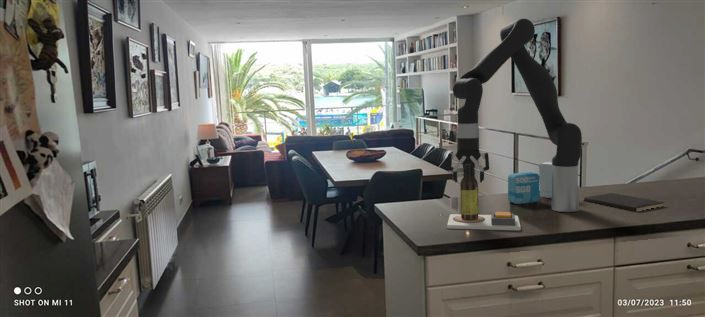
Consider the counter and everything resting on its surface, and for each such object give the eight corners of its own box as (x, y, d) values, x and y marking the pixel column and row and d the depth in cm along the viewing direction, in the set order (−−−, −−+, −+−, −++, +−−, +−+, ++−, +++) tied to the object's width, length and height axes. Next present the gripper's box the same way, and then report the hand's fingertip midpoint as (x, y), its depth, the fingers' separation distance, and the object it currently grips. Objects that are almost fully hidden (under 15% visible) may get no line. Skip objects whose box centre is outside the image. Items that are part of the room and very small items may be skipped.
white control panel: (517, 218, 186) (517, 209, 186) (520, 230, 171) (520, 219, 170) (450, 217, 192) (450, 207, 192) (447, 228, 177) (447, 218, 176)
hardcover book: (610, 198, 217) (611, 192, 216) (664, 208, 196) (664, 202, 196) (583, 202, 210) (583, 197, 210) (636, 213, 189) (636, 207, 189)
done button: (510, 217, 178) (510, 212, 178) (510, 221, 174) (510, 215, 173) (495, 217, 180) (495, 211, 179) (495, 220, 175) (495, 215, 175)
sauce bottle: (481, 219, 181) (481, 163, 179) (465, 221, 180) (464, 165, 177) (473, 215, 187) (473, 161, 185) (457, 217, 186) (456, 162, 183)
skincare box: (564, 197, 219) (564, 162, 217) (555, 199, 215) (555, 164, 213) (547, 194, 226) (547, 161, 224) (538, 196, 222) (538, 162, 220)
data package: (514, 204, 209) (514, 175, 208) (507, 202, 213) (507, 173, 212) (539, 201, 212) (539, 173, 211) (532, 199, 217) (532, 171, 215)
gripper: (489, 135, 182) (489, 180, 184) (448, 135, 185) (448, 180, 187) (489, 136, 174) (489, 184, 176) (446, 137, 178) (447, 183, 180)
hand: (468, 182), depth 182 cm, fingers open, 8 cm apart
